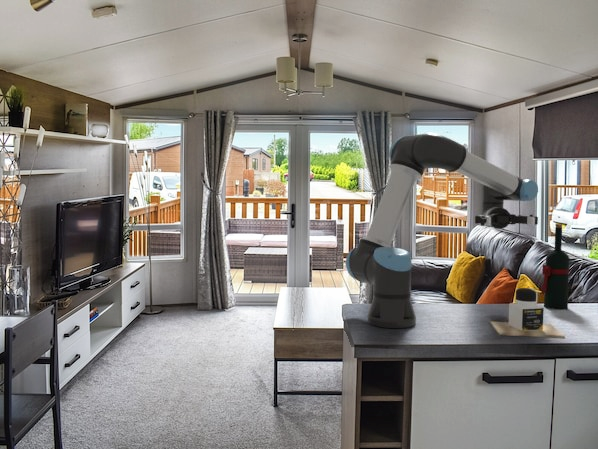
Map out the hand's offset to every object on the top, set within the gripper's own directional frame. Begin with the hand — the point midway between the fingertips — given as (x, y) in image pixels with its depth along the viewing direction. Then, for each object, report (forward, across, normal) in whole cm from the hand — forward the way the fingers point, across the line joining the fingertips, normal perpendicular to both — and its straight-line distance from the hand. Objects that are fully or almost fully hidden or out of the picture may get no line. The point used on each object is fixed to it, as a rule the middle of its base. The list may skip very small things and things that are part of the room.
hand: (511, 221), depth 182 cm
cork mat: (+14, -2, -32) cm, 35 cm away
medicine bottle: (+14, -2, -32) cm, 34 cm away
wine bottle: (-21, -20, -32) cm, 43 cm away
